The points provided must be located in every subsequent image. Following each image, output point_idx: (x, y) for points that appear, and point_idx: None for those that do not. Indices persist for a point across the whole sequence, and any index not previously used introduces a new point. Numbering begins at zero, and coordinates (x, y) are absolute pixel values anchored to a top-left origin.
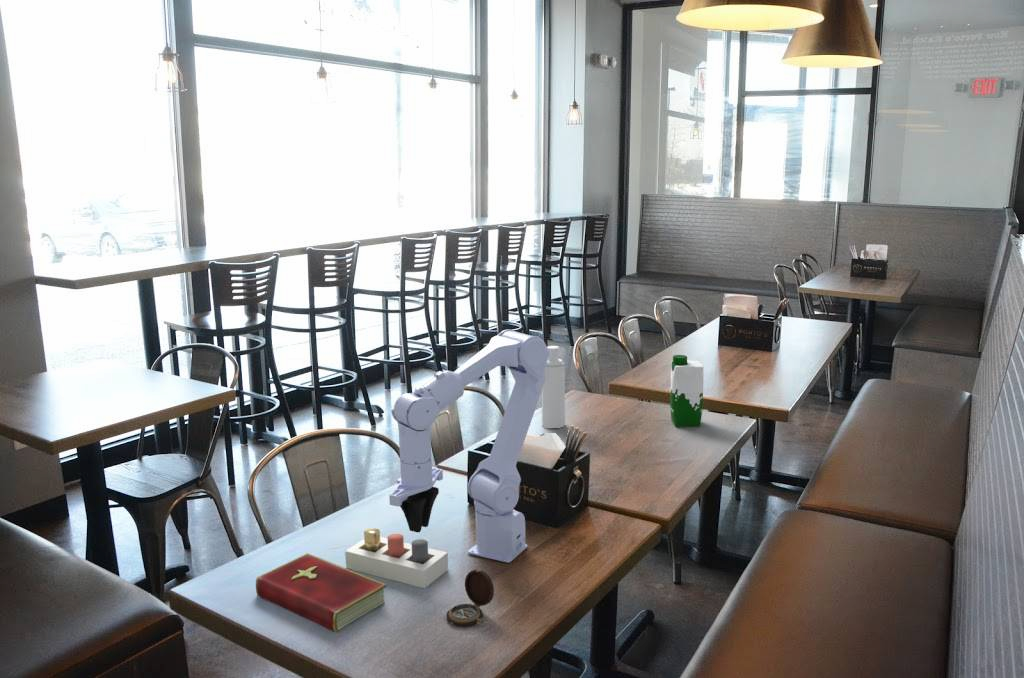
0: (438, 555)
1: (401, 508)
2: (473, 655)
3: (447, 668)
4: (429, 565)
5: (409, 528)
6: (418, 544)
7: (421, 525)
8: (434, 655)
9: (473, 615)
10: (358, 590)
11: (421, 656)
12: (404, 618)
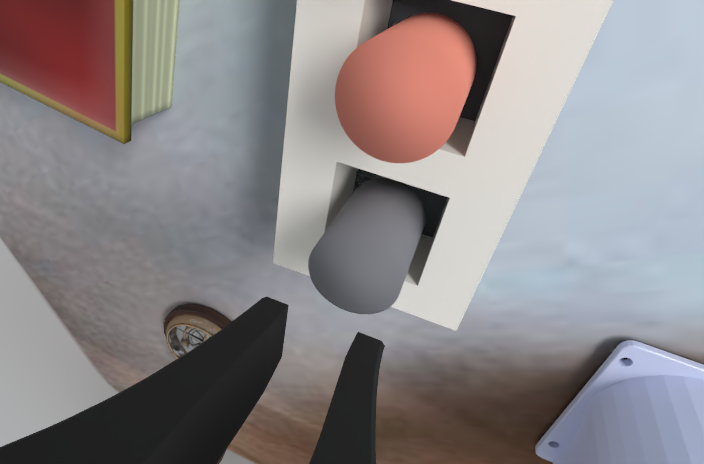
0: (419, 299)
1: (60, 422)
2: (114, 354)
3: (59, 316)
4: None
5: (253, 306)
6: (333, 273)
7: (255, 398)
8: (71, 292)
9: None
10: (27, 39)
11: (53, 269)
12: (137, 200)
